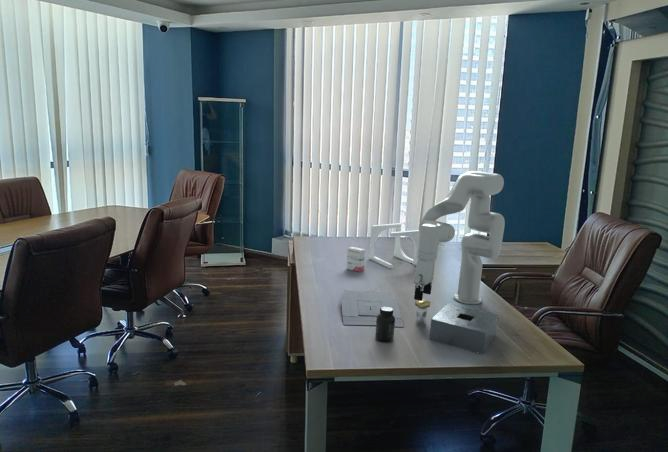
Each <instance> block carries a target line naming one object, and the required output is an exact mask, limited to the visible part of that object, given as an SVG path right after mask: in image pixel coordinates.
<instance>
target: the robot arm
mask: <svg viewBox="0 0 668 452" xmlns="http://www.w3.org/2000/svg"><path fill="white" fill-rule="evenodd" d="M504 181H505V180H504V177H503V176H502V175H501V174H499V173H495V172H494V173H493V172H485V171H478V170H471V171H467V172H466V173H462V174H460V175H459V176H458V177H457V179H456V181H455V182H454V184H453V185H452V187H451V189H450V191H449V193H448V194H447V196H446V198H445V199H443V200H441V201H439V202H438V203H436V204H435V205H433V206H431V207H430V208H429V209H428V210H427V211H426V213H425V214H424V216H423V218H422V219H421V221H420V223H419V226H418V230H419V233H420V236H419V245H418V254H417V258H418V261H417V265H415V270H414V277H413V283H414V296H413V298H414V300H419V301H422V299H424V298H423V297H424V296H423V295H424V294H426V295H431V294H432V285H433V280H434V273H435V262H436V261H437V259H438V258H437V257H438V251H439V250H438V249H439V243H448V242H450V241H452V240H453V239H454V237H455V235H456V229H455V227H454V226H453V225H451V224H450V223H448V222H447V223H446V222H442V221H438V219H440V218H442V217H444V216H449V215H452V214H456V213H457V214H458V213H460V212H463V211H464V210H465V209H466V206H467V205H468V202H469V201H470V205H469V212H468V217H467V218H468V219H467V226H468V228H469V229H471V230H473V231H475V232H480V233H486V234H489V235H485V234H479V233H474V232H468V233H465V234H464V235H463V236H462V238H461V241H460V247H461V248H460V249H461V259H460V267H459V269H460V271H459V277H458V289H457V293H454V294H453V299H454V300H455V301H457V302H458V303H461V304H466V305H478V304H481V303H482V302H483V301H482V298H481V296H480V289H481V280H482V273H483V261H482V259H481V257H482V258H487V259H491V260H494V259H497V258H498V257H499V256H500V253H501V249H502V246H503V245H502V244H503V238H504V232H505V225H506V223H505V222H506V221H505V217H504V216H503V215H502V214H501V213H499V212H492V211H490V209H491V202H492V201H491V197H490V196H494V195H496V194H499V193H500V192H501V191H502V190H503V189H504V185H505V182H504Z"/></svg>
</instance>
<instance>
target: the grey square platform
mask: <svg viewBox="0 0 668 452" xmlns="http://www.w3.org/2000/svg"><path fill="white" fill-rule="evenodd" d="M498 318H499V315H498V314H494V313H490V312H486V311H482V310H478V309H474V308H468V307H465V306H461V305H456V304H452V303H450V302H448V303H447V304H445V305H444V307H442V309H440V310H439V311H438V312H437V313H436V314H434V316H433V317H432V318H431V320H430V328H429V336H428V337H429V340H431V341H433V342H438V343H441V344H445V345H449V346H452V347H455V346H456V348H459V347H460V349H462V348H464V350H466V349H468V350H467V351H469V350H471V351H470V352H473V351H475V352H474V353H476V352H479V353H478V354H480V353H482V354H481V355H484V353H485V352H484V351H487V349H488V347H489V346H488V345H490V344H491V342H492V341H493V339H494V338H495V336H496V335H497V329H498V328H497V326H498V320H499V319H498ZM495 334H496V335H495ZM493 337H494V338H493ZM491 340H492V341H491ZM489 343H490V344H489ZM486 348H487V349H486Z"/></svg>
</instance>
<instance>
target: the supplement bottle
mask: <svg viewBox="0 0 668 452" xmlns="http://www.w3.org/2000/svg"><path fill="white" fill-rule="evenodd" d="M374 334H375V336H374V337H375V339H376V341H377V342H380V343H391V342H393V340H394V338H395V317H394V316H393V308H391V307H387V306H383V307H381V308H380V314H379V315H378V316H377V321H376V325H375V333H374Z"/></svg>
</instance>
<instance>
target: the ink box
mask: <svg viewBox="0 0 668 452" xmlns="http://www.w3.org/2000/svg"><path fill="white" fill-rule="evenodd" d="M346 254H347V255H346V256H347V257H346V269H347V270H350V271H354V272H355V271H356V272H360V273H361V272H363V271H364V270H365V259H366V258H365V257H366V249H365V248H360V247H357V246H356V247H355V246H350V247H348V248H347V253H346Z"/></svg>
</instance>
